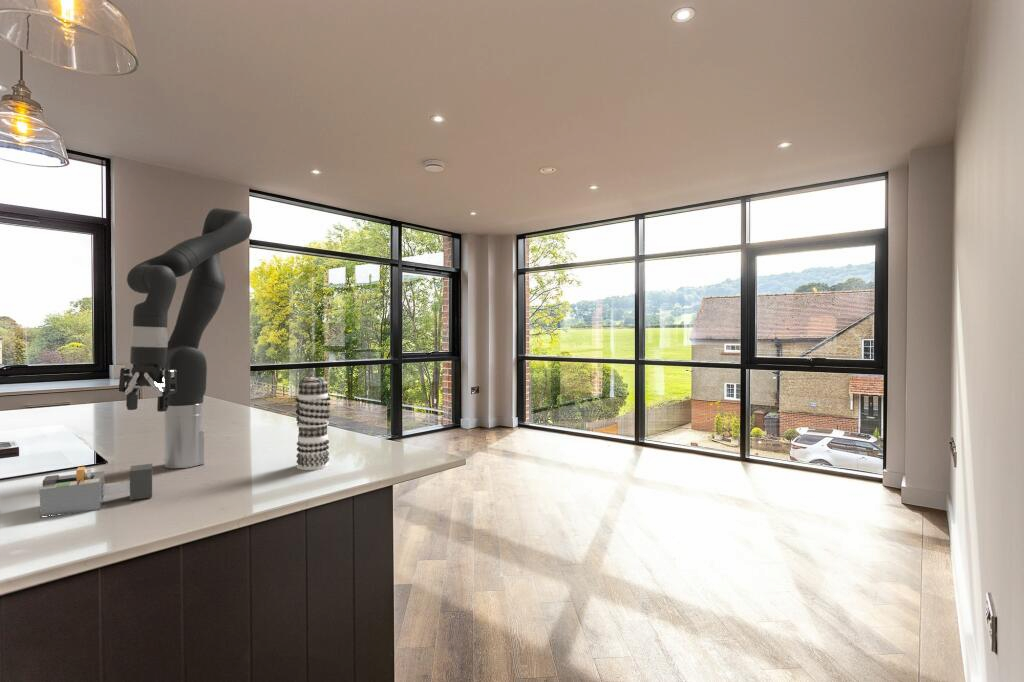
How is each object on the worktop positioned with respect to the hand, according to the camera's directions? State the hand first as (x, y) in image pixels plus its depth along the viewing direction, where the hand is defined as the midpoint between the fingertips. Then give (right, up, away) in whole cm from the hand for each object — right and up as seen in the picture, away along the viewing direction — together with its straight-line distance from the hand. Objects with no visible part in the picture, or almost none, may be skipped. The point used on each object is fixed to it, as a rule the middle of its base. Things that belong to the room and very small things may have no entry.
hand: (147, 410), depth 127 cm
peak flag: (-3, -17, -16) cm, 24 cm away
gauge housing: (-4, -18, -17) cm, 25 cm away
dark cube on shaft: (+3, -18, -12) cm, 22 cm away
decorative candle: (+35, -18, +17) cm, 43 cm away
